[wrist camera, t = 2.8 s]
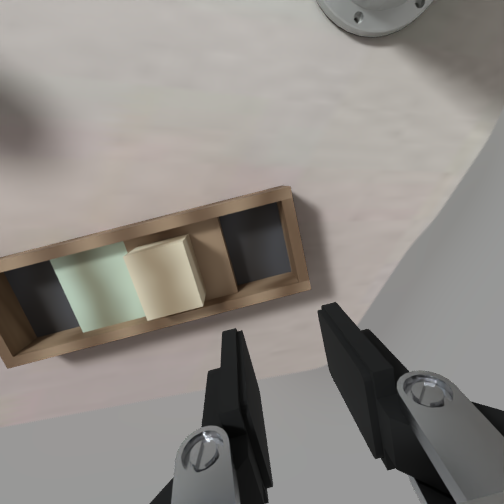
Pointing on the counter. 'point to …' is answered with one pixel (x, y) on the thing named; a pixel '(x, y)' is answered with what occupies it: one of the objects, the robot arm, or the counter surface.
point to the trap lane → (120, 283)
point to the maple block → (166, 277)
